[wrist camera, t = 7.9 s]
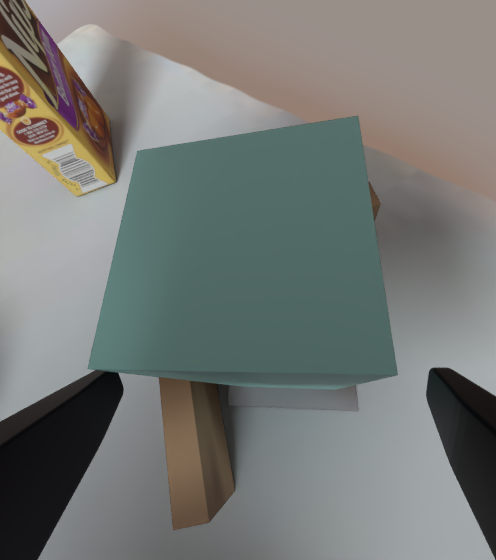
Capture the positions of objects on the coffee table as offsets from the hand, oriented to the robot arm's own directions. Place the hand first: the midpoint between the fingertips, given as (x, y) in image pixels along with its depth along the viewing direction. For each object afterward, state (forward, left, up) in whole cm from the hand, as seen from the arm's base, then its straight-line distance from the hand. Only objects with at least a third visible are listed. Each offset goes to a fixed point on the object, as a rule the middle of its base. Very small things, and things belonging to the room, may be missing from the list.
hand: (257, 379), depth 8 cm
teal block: (+2, -1, -8) cm, 9 cm away
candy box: (+24, +12, -9) cm, 28 cm away
